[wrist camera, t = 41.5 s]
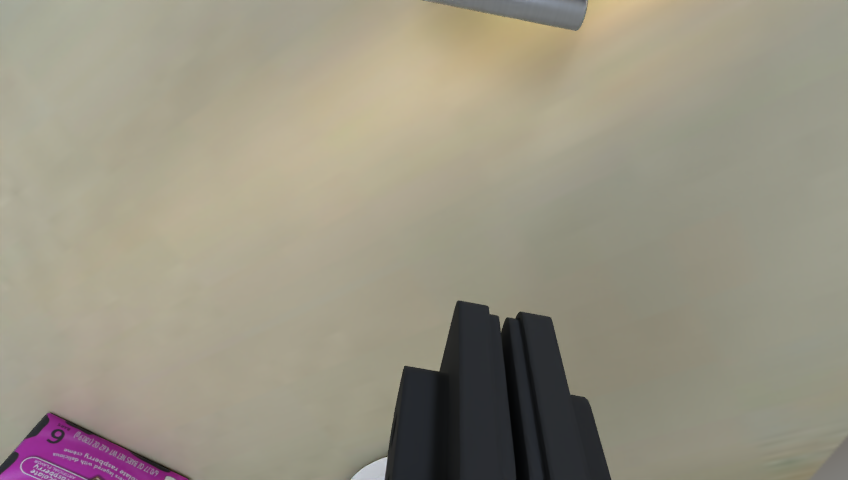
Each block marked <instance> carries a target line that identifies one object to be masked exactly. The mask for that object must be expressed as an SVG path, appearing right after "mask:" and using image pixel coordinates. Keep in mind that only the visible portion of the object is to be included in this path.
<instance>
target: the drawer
mask: <svg viewBox="0 0 848 480" xmlns="http://www.w3.org/2000/svg"><path fill="white" fill-rule="evenodd" d="M423 1H428V2H433V3H438V4H443V5H448V6H453V7H458V8H463V9H468V10H473V11H478V12H483V13H488V14H494V15H499V16H504V17H509V18H514V19H519V20H524V21H529V22H534V23H539V24H544V25H549V26H554V27H559V28H564V29H569V30H574V31H577V30H579V28H580V27H581V25H582V23H583V20H584V17H585V14H586V10H587V5H588V0H423Z"/></svg>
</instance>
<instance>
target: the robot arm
mask: <svg viewBox="0 0 848 480" xmlns="http://www.w3.org/2000/svg"><path fill="white" fill-rule="evenodd" d="M385 480H611V477H610V474H609V470H608V466H607V463H606V459H605V456H604V452H603V449H602V445H601V442H600V438H599V435H598V431H597V427H596V424H595V420H594V417H593V413H592V410H591V406H590V404H589V402H588V400H587V399H586V398H585V397H581V396H575V395H570V392H569V388H568V384H567V379H566V375H565V371H564V367H563V363H562V359H561V355H560V351H559V347H558V343H557V339H556V334H555V330H554V326H553V322H552V319H551V318H550V317H548V316H542V315H536V314H531V313H525V312H519V313H518V314H517V316H516V319H513V318H508V317H507V318H506V320H505V322H504V325H503V328H502V331H500V322H499V316H496V315H491V314H489V307H488V306H486V305H481V304H475V303H470V302H464V301H457V303H456V306H455V310H454V314H453V318H452V322H451V326H450V330H449V334H448V338H447V342H446V347H445V351H444V355H443V359H442V363H441V367H440V371H439V372H438V371H432V370H426V369H420V368H415V367H409V366H404V369H403V373H402V378H401V382H400V387H399V392H398V397H397V402H396V407H395V412H394V418H393V424H392V430H391V436H390V443H389V450H388V458H387V465H386V473H385Z"/></svg>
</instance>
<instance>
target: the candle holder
mask: <svg viewBox="0 0 848 480" xmlns="http://www.w3.org/2000/svg"><path fill="white" fill-rule="evenodd" d="M387 458H388V457H385V458H382V459H379V460H377V461H375V462H373V463H371V464H369V465H367V466H365V467H364V468H362V469H361V470H360V471H359V472H357V473H356V474H355V475H354V476H353V477H352V478H351V480H385V473H386V465H387Z"/></svg>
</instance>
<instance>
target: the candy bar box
mask: <svg viewBox="0 0 848 480" xmlns="http://www.w3.org/2000/svg"><path fill="white" fill-rule="evenodd" d="M0 480H189V479H187V478H185V477H183V476H181V475H179V474H177V473H175V472H173V471H170V470H168V469H166V468H164V467H162V466H160V465H158V464H156V463H154V462H151V461H149V460H147V459H145V458H143V457H141V456H139V455H137V454H135V453H133V452H130V451H128V450H126V449H124V448H122V447H120V446H118V445H116V444H114V443H111V442H109V441H107V440H105V439H103V438H101V437H99V436H97V435H95V434H93V433H91V432H89V431H87V430H84V429H82V428H80V427H78V426H76V425H74V424H72V423H70V422H68V421H66V420H64V419H62V418H60V417H57V416H55V415H53V414H51V413H47V414H46V415H45V416H44V417H43V418H42V419H41V421H40V422H39V423H38V424H37V425H36V426H35V427H34V428H33V430H32V431H31V432H30V433H29V434H28V435H27V437H26V438H25V439H24V440H23V441H22V442H21V443H20V444H19V445H18V447H17V448H16V449H15V450H14V451H13V452H12V454H11V455H10V456H9V457H8V458H7V459H6V460H5V461H4V463H3V464H2V465H1V466H0Z"/></svg>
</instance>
